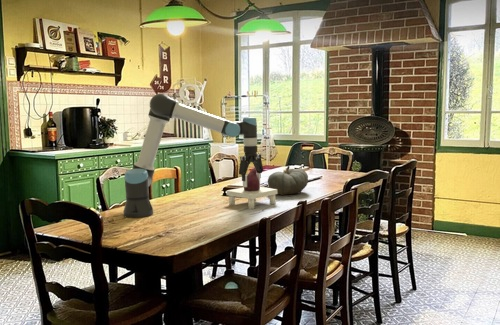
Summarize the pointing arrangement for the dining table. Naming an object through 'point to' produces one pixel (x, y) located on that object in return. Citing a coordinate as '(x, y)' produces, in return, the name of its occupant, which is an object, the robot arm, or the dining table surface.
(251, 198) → the footstool
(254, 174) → the vegetable
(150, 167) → the robot arm
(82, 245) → the dining table surface
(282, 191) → the gourd
